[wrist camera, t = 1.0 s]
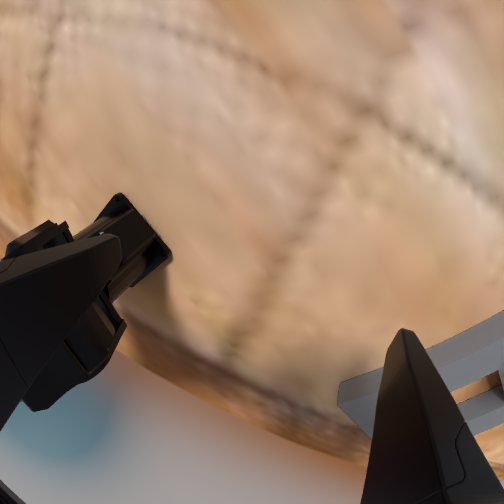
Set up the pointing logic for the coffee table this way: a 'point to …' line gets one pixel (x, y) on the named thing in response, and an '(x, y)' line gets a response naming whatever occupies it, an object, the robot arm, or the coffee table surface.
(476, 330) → the socket board
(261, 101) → the coffee table surface
